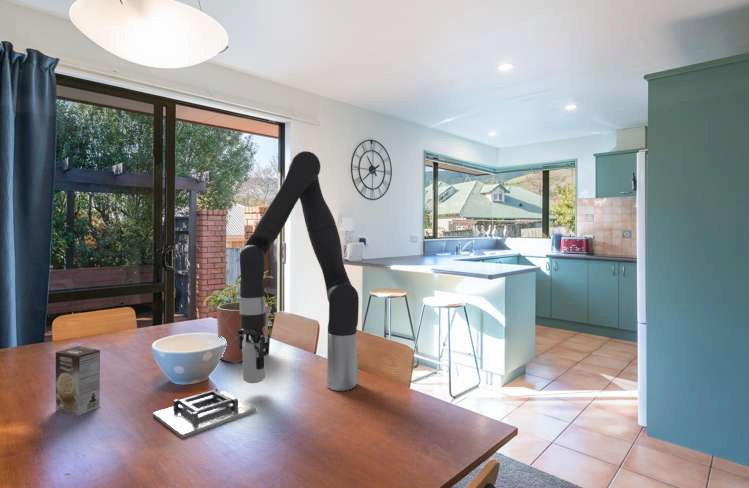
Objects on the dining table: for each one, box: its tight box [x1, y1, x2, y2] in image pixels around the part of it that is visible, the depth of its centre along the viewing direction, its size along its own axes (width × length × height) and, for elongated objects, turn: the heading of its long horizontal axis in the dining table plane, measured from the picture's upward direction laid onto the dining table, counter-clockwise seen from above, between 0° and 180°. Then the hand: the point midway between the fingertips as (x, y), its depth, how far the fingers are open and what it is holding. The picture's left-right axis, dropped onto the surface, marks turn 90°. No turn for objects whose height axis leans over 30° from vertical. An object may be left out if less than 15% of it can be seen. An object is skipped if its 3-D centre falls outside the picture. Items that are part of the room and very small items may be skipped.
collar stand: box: [153, 387, 257, 439], centre depth 110 cm, size 20×17×4 cm
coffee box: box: [55, 345, 101, 417], centre depth 112 cm, size 9×6×16 cm
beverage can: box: [242, 341, 266, 384], centre depth 124 cm, size 6×6×12 cm
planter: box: [216, 301, 269, 364], centre depth 161 cm, size 19×19×20 cm
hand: (253, 366), depth 124 cm, fingers closed on beverage can, 6 cm apart
